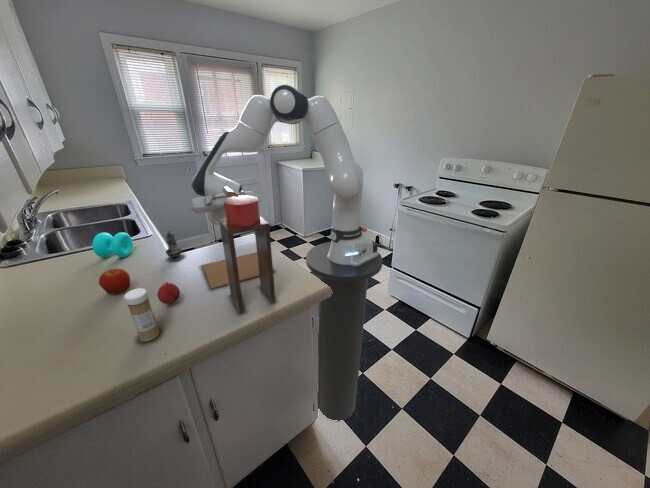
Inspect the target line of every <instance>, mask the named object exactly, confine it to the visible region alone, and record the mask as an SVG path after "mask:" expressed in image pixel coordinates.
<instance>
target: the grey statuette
mask: <svg viewBox="0 0 650 488" xmlns="http://www.w3.org/2000/svg"><path fill="white" fill-rule="evenodd" d="M165 238H166V244H167V246H168V247H167V249H166V250H165V254H166V255H167V257H168V258H167V260H168V262H179V261H181V260H182V259H183V258H184V256H183V255H182V251H183V248H182V247H181V246H178V243H177V242H178V241H177V239H176V237H175V234H174V233H173V232H171V231H170V230H168V232H167V233H166V234H165Z"/></svg>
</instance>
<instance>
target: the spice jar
mask: <svg viewBox="0 0 650 488" xmlns="http://www.w3.org/2000/svg"><path fill="white" fill-rule="evenodd" d="M123 299H124V301H125V304H126V305H127V306H128V310H129V312H130V316H131V318H132V321H133V324H134V327H135V330H136V331H137V334H138V336H139V340H140V342H150V341H153V340H154V339H157V338H158V337H159V334H160V331H161V330H160V329H159V327H158V324H157V319H156V317H155V313H154V312H153V309H152V306H151V302H150V300H149V294H148V291H147V289H145V288H140V287H139V288H135V289H132V290H129V291H128V292H126V293H125V294H124V296H123Z"/></svg>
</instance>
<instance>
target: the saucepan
mask: <svg viewBox="0 0 650 488" xmlns="http://www.w3.org/2000/svg"><path fill="white" fill-rule="evenodd" d="M223 193H224V194H225V195H226V196H227V197H228V198H227V199H225V200H224V201H223V203H224V210H225V217H226V223H227V224H228V225H229V226H233V227H247V226H252V225H255V224H257V223H259V222H260V216H261V213H260V201H259V198H258V197H257V196H256V197H254V196H239V195H237V194H236V193H235V192H234V191H232V190H231V189H230V188H229V187H224V188H223Z"/></svg>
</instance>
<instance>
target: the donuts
mask: <svg viewBox="0 0 650 488" xmlns="http://www.w3.org/2000/svg"><path fill="white" fill-rule="evenodd" d="M91 246H92V250H93V252H94V254H95V255H96V256H97V257H99V258H108V257H110V256H113V254H114V255H115V256H117V257H119V258H126V257H128V256H129V255H130V254H131V253H132V251H133V249H134V242H133V238H132V237H131V236H130V234H128V233H127V232H123V231H121V232H118V233H116V234H115V235H114V236H113V235H112V234H110V233H109V232H100V233H97V234H96V235H95V236H94V238H93V239H92V243H91Z"/></svg>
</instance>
